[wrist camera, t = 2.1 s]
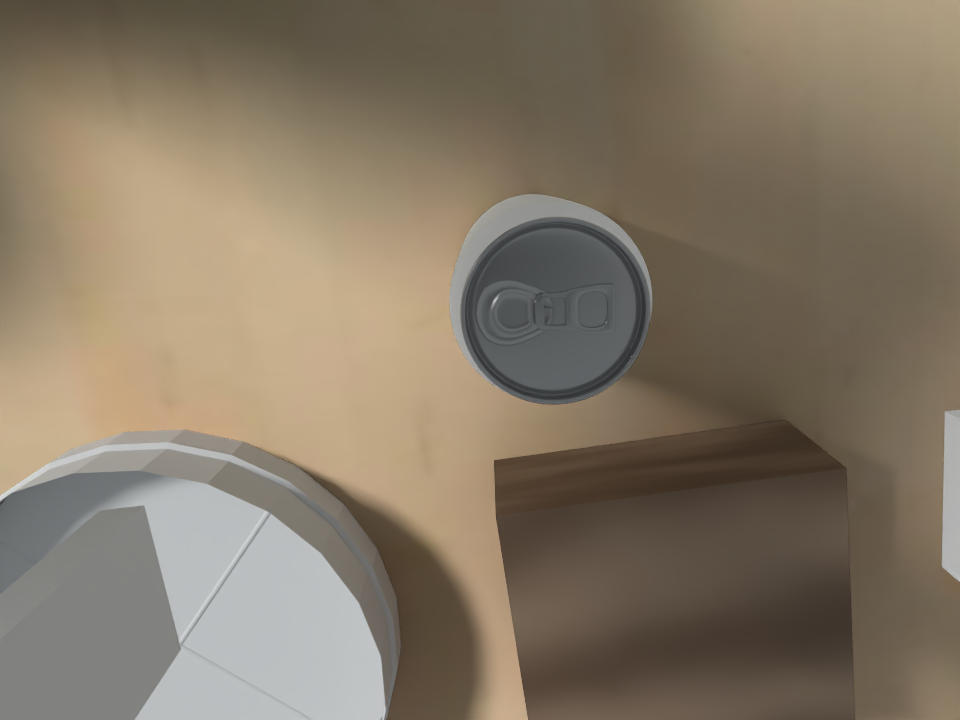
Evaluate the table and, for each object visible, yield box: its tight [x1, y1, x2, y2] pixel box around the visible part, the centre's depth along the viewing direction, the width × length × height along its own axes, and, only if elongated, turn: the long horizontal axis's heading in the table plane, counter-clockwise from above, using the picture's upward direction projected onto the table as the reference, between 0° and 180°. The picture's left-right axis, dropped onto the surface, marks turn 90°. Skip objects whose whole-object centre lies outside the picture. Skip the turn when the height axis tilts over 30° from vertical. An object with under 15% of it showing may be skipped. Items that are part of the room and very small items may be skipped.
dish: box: [0, 430, 401, 720], centre depth 36 cm, size 22×22×5 cm
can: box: [449, 194, 652, 405], centre depth 27 cm, size 6×6×12 cm
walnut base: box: [494, 420, 855, 720], centre depth 34 cm, size 14×14×6 cm
